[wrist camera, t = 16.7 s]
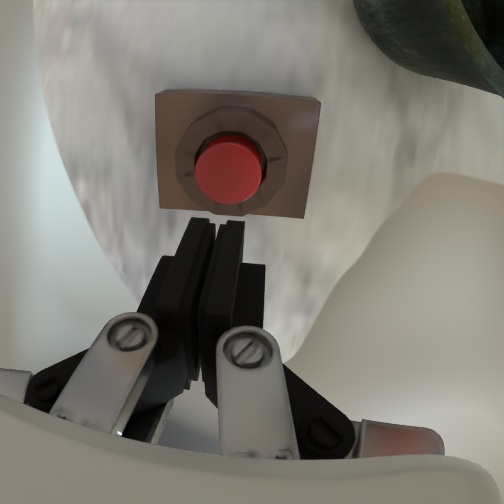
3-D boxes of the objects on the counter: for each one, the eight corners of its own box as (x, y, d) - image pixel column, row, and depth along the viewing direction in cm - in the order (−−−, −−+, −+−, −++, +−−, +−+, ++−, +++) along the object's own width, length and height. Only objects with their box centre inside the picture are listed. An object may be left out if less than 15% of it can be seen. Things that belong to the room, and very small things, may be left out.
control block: (315, 98, 19) (326, 107, 16) (301, 204, 24) (306, 232, 20) (165, 89, 19) (144, 97, 16) (167, 195, 23) (151, 221, 20)
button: (264, 136, 17) (264, 145, 16) (259, 194, 19) (258, 207, 18) (200, 133, 17) (194, 141, 16) (200, 190, 19) (194, 202, 18)
